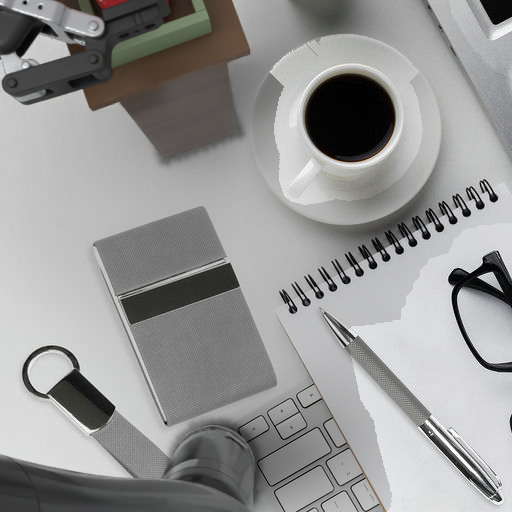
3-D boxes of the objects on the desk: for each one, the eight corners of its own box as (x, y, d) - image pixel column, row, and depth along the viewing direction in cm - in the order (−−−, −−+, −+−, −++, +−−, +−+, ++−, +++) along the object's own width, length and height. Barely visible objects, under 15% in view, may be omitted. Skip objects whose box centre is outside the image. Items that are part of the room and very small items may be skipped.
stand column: (238, 132, 77) (224, 42, 48) (164, 159, 77) (105, 85, 48) (211, 60, 78) (181, -74, 49) (138, 86, 78) (63, -31, 49)
